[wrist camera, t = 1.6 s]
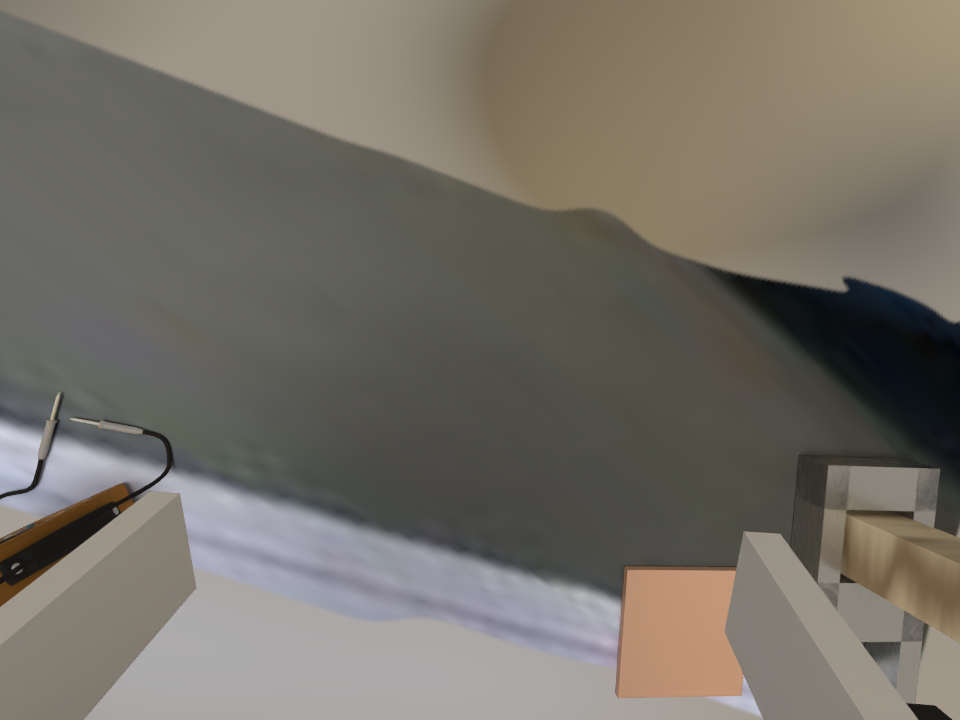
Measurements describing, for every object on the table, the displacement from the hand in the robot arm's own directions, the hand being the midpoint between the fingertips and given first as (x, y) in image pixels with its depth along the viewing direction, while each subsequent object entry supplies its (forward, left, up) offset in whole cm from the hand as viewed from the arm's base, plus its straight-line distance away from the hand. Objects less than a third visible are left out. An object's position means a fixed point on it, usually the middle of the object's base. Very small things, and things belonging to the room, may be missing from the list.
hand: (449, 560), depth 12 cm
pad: (-17, -20, -26) cm, 37 cm away
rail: (-14, -33, -25) cm, 44 cm away
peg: (-9, -33, -26) cm, 43 cm away
